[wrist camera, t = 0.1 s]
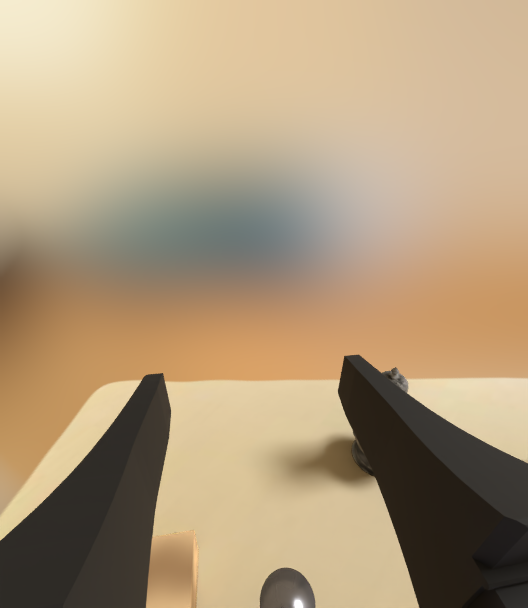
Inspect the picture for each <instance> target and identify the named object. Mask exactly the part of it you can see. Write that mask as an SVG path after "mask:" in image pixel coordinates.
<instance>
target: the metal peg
mask: <svg viewBox="0 0 528 608" xmlns="http://www.w3.org/2000/svg"><path fill="white" fill-rule="evenodd" d="M260 608H315V598H314V594H313V591H312V588H311V586H310V584H309V582H308V581H307V579H306V578H305V577H304V576H303V575H302V574H301V573H300V572H298V571H296V570H294V569H291V568H281V569H278V570H276V571H274V572H273V573H271V574H270V575H269V576H268V578H267V579H266V581H265V583H264V585H263V587H262V590H261V595H260Z"/></svg>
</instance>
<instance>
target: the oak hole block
mask: <svg viewBox="0 0 528 608" xmlns="http://www.w3.org/2000/svg"><path fill="white" fill-rule="evenodd" d="M197 574H198V545H197V541H196V536H195V531H194V530H191V531H185V532H179V533H173V534H167V535H162V536H156V537H152V544H151V554H150V565H149V576H148V588H147V601H146V608H196V599H197Z"/></svg>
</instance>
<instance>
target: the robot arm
mask: <svg viewBox="0 0 528 608" xmlns="http://www.w3.org/2000/svg"><path fill="white" fill-rule="evenodd" d="M338 394H339V397H340V400H341V403H342V406H343V409H344V412H345V414H346V417H347V419H348V421H349V423H350V425H351V427H352V429H353V431H354V434H355V436H356V438H357V440H358V442H359V444H360V446H361V448H362V450H363V452H364V454H365V456H366V458H367V460H368V462H369V464H370V466H371V468H372V471H373V473H374V475H375V477H376V480H377V482H378V485H379V488H380V490H381V493H382V496H383V498H384V501H385V504H386V506H387V509H388V512H389V515H390V518H391V520H392V523H393V526H394V529H395V532H396V535H397V538H398V541H399V544H400V547H401V550H402V553H403V556H404V559H405V562H406V565H407V568H408V571H409V575H410V578H411V581H412V585H413V588H414V591H415V594H416V598H417V601H418V604H419V608H528V463H526V462H524V461H522V460H519V459H517V458H515V457H513V456H511V455H509V454H507V453H505V452H503V451H501V450H499V449H497V448H495V447H493V446H491V445H489V444H487V443H485V442H483V441H481V440H480V439H478V438H476V437H474V436H472V435H470V434H468V433H467V432H465V431H463V430H462V429H460V428H458V427H456V426H455V425H453V424H452V423H450V422H448V421H447V420H445V419H443V418H442V417H440V416H439V415H437V414H436V413H434V412H433V411H431V410H430V409H428V408H427V407H425V406H424V405H422V404H421V403H420V402H418V401H417V400H415V399H414V398H413V397H411V396H410V395H409V394H407V393H406V392H405V391H403V390H402V389H401V388H399V387H398V386H397V385H395V384H394V383H393V382H392V381H390V380H389V379H388V378H387V377H385V376H384V375H383V374H382V373H381V372H379V371H378V370H377V369H376V368H374V367H373V366H372V365H371V364H369V363H368V362H367V361H366V360H365V359H363V358H362V357H361V356H360V355H350V356H344V361H343V367H342V372H341V378H340V383H339V388H338ZM170 418H171V408H170V403H169V399H168V394H167V390H166V385H165V380H164V376H163V373H161V374H150V375H146V376H145V377H144V378H143V379H142V381H141V383H140V384H139V386H138V387H137V389H136V390H135V392H134V393H133V395H132V396H131V398H130V399H129V401H128V402H127V404H126V405H125V407H124V408H123V409H122V411H121V412H120V414H119V415H118V416H117V418H116V419H115V421H114V422H113V423H112V425H111V426H110V427H109V429H108V430H107V431H106V432H105V434H104V435H103V436H102V437H101V439H100V440H99V441H98V442H97V444H96V445H95V446H94V447H93V449H92V450H91V451H90V452H89V453H88V455H87V456H86V457H85V458H84V459H83V460H82V461H81V463H80V464H79V465H78V466H77V467H76V468H75V469H74V470H73V471H72V473H71V474H70V475H69V476H68V477H67V478H66V479H65V480H64V481H63V482H62V483H61V484H60V485H59V486H58V487H57V488H56V489H55V490H54V491H53V492H52V493H51V494H50V495H49V496H48V497H47V498H46V499H45V500H44V501H43V502H42V503H41V504H40V505H39V506H38V507H37V508H36V509H35V510H34V511H33V512H32V513H30V514H29V515H28V516H27V517H26V518H25V519H24V520H23V521H22V522H21V523H19V524H18V525H17V526H16V527H15V528H14V529H13V530H12V531H11V532H10V533H8V534H7V535H6V536H5V537H4V538H3V539H2V540H1V541H0V608H146V601H147V588H148V576H149V565H150V554H151V544H152V534H153V525H154V515H155V508H156V502H157V496H158V491H159V486H160V481H161V476H162V471H163V465H164V460H165V455H166V450H167V445H168V439H169V431H170Z"/></svg>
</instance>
